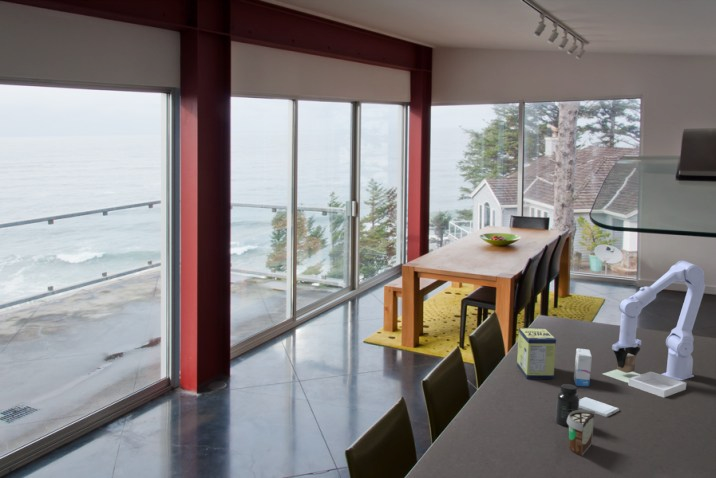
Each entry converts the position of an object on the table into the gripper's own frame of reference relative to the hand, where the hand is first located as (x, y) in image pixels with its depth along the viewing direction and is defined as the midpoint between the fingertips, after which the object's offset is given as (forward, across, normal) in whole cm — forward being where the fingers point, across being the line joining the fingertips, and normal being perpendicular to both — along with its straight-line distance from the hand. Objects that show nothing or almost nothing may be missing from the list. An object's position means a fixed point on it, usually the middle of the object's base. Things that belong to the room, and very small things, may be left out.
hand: (625, 365), depth 268 cm
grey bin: (+4, 0, -14) cm, 15 cm away
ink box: (+4, -19, +4) cm, 20 cm away
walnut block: (+2, 0, 0) cm, 2 cm away
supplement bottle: (+4, -52, -18) cm, 55 cm away
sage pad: (+4, 0, 0) cm, 4 cm away
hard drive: (+5, -34, -15) cm, 38 cm away
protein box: (+5, -26, +21) cm, 34 cm away
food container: (+4, -64, -31) cm, 71 cm away
